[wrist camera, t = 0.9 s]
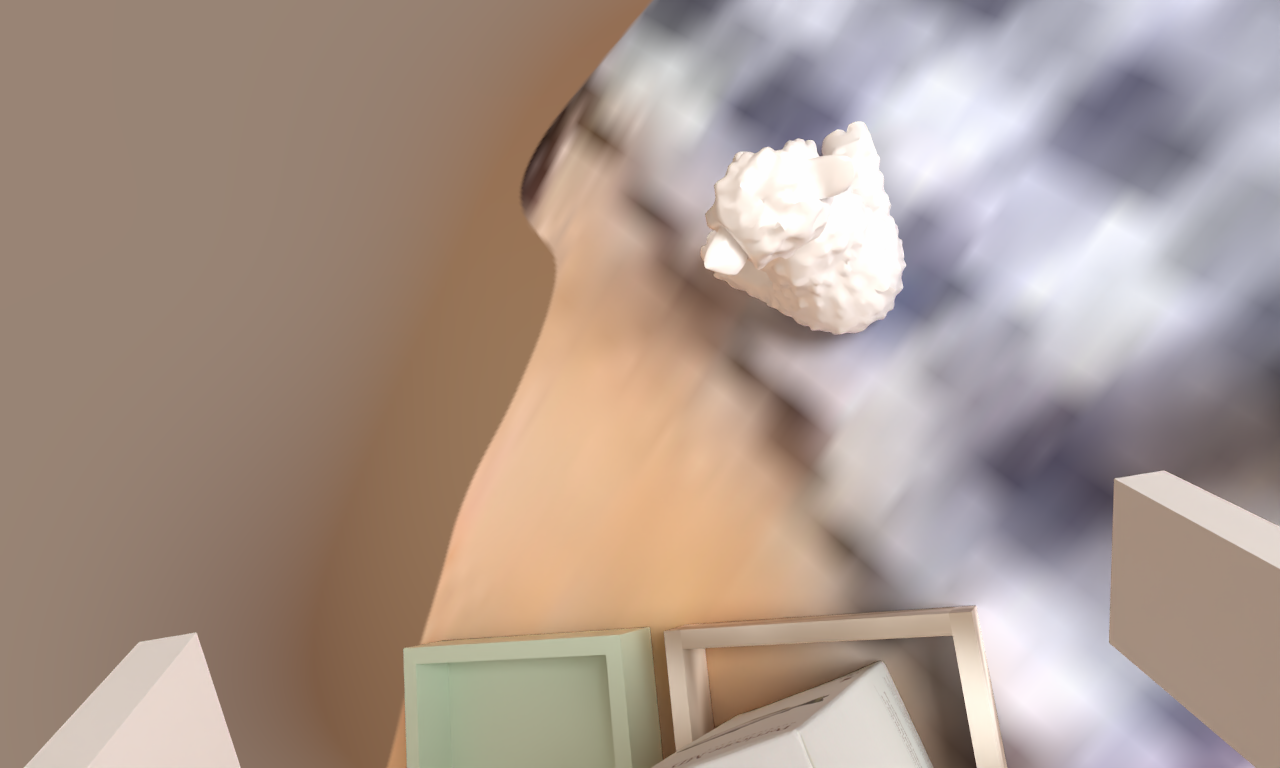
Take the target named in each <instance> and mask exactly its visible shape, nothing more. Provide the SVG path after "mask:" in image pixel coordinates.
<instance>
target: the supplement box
mask: <svg viewBox="0 0 1280 768" xmlns="http://www.w3.org/2000/svg"><path fill="white" fill-rule="evenodd" d="M651 768H934V767H933V765H932V763H931V761H930V759H929V757H928V755H927V752H926V750H925V748H924V746H923V744H922V741H921V739H920V737H919V735H918V733H917V731H916V729H915V727H914V725H913V723H912V720H911V718H910V716H909V714H908V712H907V710H906V707H905V705H904V703H903V701H902V699H901V697H900V695H899V693H898V690H897V688H896V686H895V684H894V682H893V680H892V678H891V676H890V674H889V672H888V669H887V667H886V665H885V664H884V662H883V661H878V662H875V663H873V664H871V665H869V666H867V667H864V668H862V669H860V670H857V671H855V672H852V673H850V674H848V675H845V676H843V677H840V678H838V679H835V680H832V681H830V682H827V683H825V684H822V685H820V686H817V687H814V688H812V689H809V690H806V691H804V692H801V693H798V694H795V695H793V696H790V697H787V698H785V699H782V700H780V701H777V702H774V703H772V704H769V705H767V706H764V707H761V708H758V709H755V710H752V711H749V712H746V713H743V714H740V715H737V716H735V717H733V718H732V719H730V720H729V721H727V722H725V723H723V724H722V725H720V726H718V727H717V728H715V729H713V730H712V731H710V732H708V733H706V734H705V735H703V736H702V737H700V738H698V739H697V740H695V741H693V742H692V743H690V744H688V745H687V746H685V747H683V748H682V749H680V750H678V751H677V752H675V753H673V754H672V755H670V756H669V757H667V758H665V759H664V760H662V761H661V762H659V763H658V764H656V765H655V766H653V767H651Z"/></svg>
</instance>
